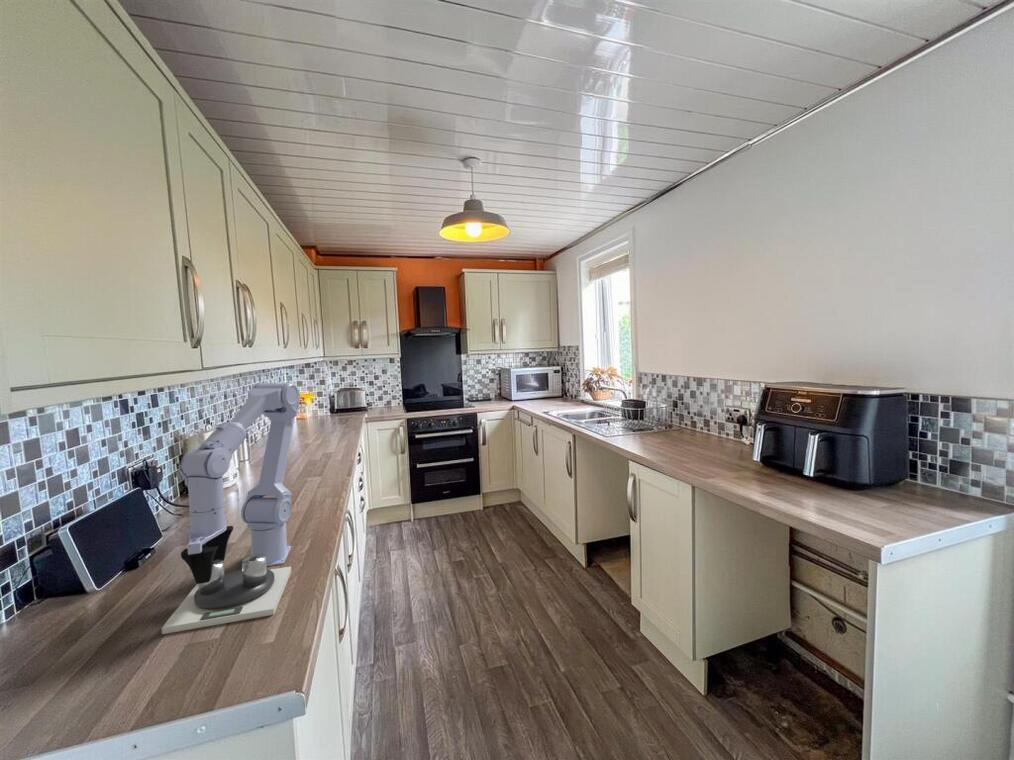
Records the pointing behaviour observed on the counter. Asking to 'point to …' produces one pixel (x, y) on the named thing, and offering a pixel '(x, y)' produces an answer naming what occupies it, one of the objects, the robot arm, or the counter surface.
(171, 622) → the scale base
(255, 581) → the cylinder
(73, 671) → the counter surface
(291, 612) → the counter surface
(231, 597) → the scale pan
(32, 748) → the counter surface
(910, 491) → the counter surface
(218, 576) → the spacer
